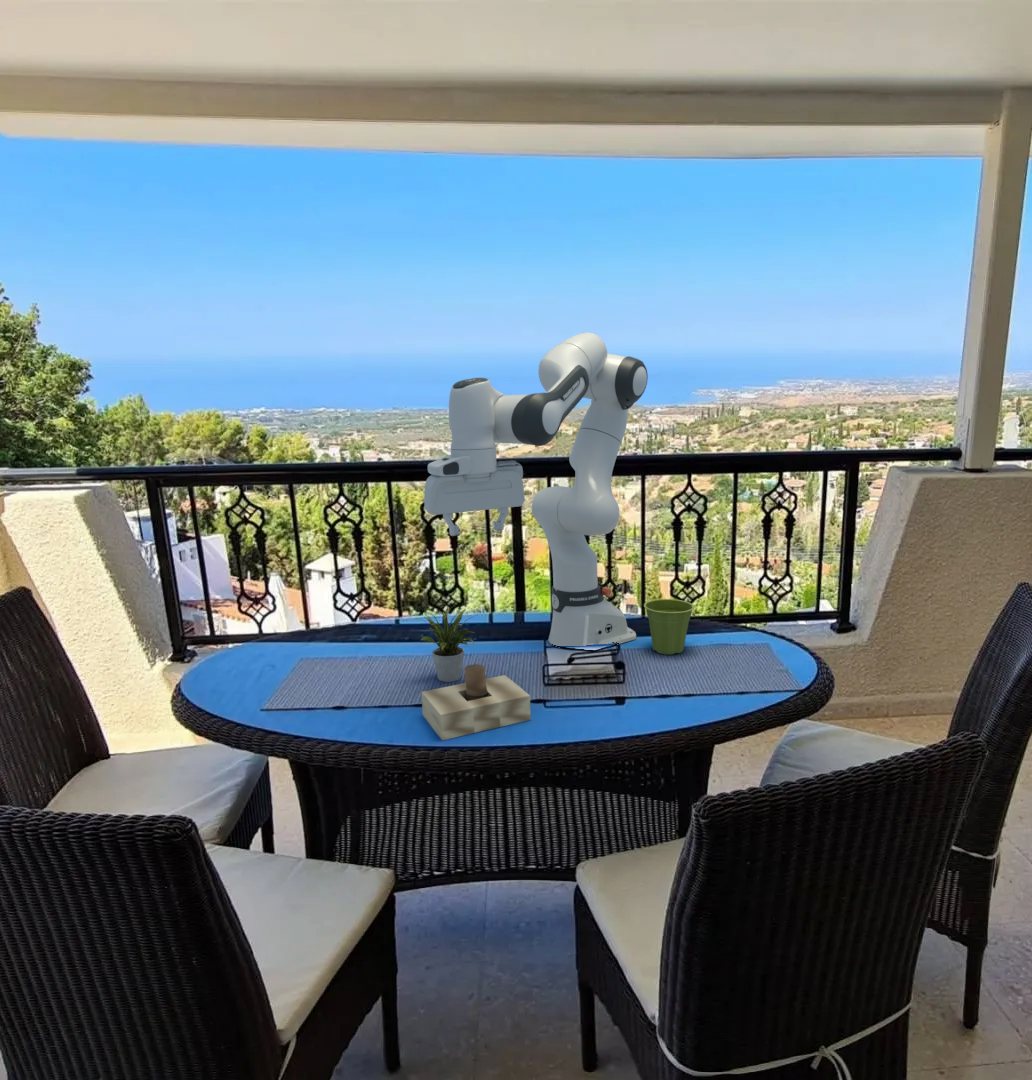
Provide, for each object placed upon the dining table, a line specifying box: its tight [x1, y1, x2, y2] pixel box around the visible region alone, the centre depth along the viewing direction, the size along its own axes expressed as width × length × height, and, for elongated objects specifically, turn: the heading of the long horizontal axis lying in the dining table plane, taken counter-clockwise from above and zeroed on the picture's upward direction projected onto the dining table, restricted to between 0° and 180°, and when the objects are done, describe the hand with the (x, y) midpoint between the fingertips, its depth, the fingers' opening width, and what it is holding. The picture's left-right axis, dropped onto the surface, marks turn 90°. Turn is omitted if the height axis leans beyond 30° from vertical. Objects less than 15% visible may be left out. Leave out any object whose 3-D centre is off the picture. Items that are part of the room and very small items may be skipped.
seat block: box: [421, 674, 531, 741], centre depth 142 cm, size 18×12×5 cm, turn 114°
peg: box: [463, 663, 487, 701], centre depth 142 cm, size 4×4×10 cm
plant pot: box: [643, 598, 695, 656], centre depth 175 cm, size 12×12×11 cm
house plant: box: [415, 607, 476, 683], centre depth 161 cm, size 14×14×16 cm
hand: (476, 532), depth 145 cm, fingers open, 8 cm apart
